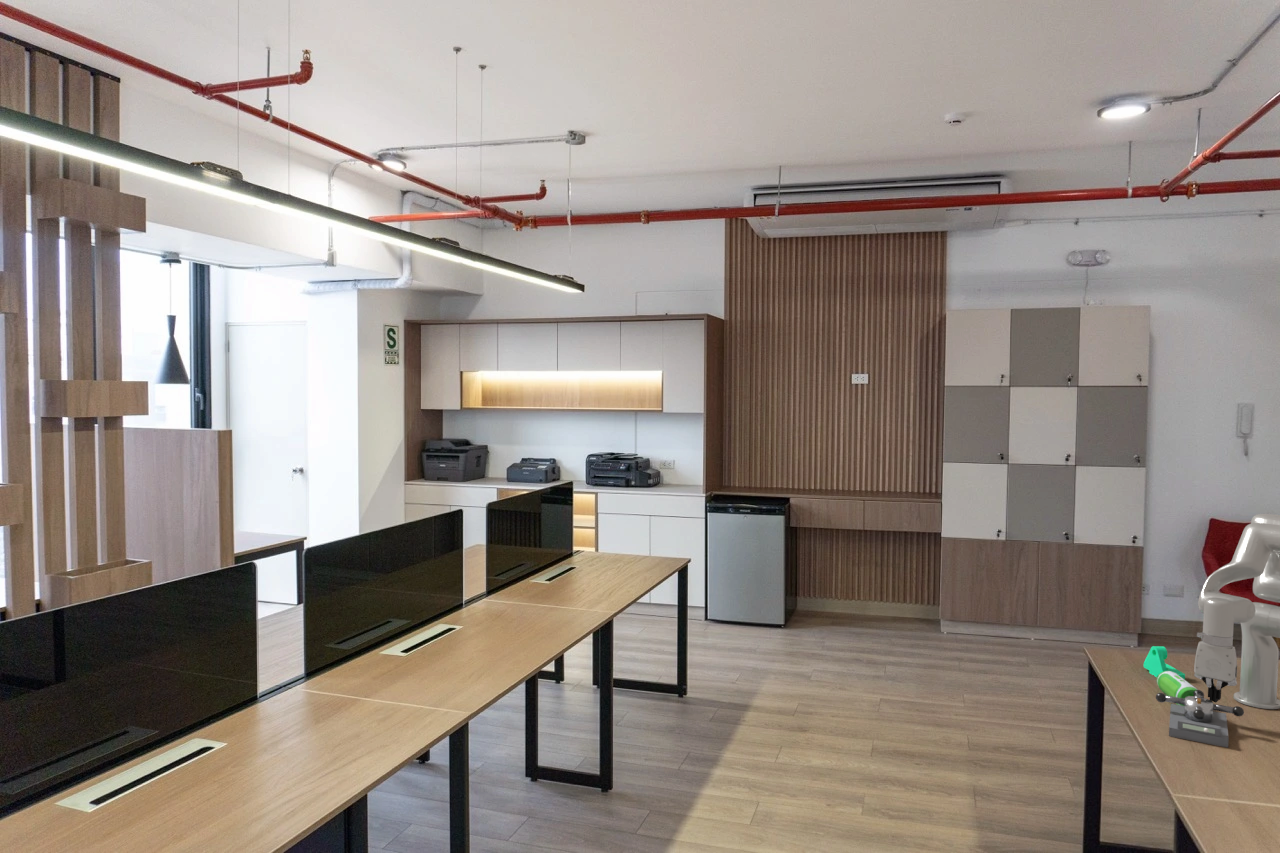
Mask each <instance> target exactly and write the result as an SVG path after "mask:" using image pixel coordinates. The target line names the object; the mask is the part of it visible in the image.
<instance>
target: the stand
mask: <svg viewBox="0 0 1280 853" xmlns="http://www.w3.org/2000/svg"><path fill="white" fill-rule="evenodd" d="M1184 708H1185V706H1182V705H1177V704H1176V703H1170V712H1169V723H1168V725H1169V727H1168V737H1171V738H1177V739H1182V740H1187V741H1193V742H1198V743H1203V744H1208V745H1212V746H1216V747H1222V748H1229V730H1228V721H1227V720H1228V719H1227V713H1226V712H1221V711H1215V710H1213V720H1212V721H1211V722H1200V721H1195V720H1192V719H1189V718H1187V717H1185V716H1184Z"/></svg>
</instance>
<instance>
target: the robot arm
mask: <svg viewBox="0 0 1280 853" xmlns="http://www.w3.org/2000/svg"><path fill="white" fill-rule="evenodd" d="M1241 533H1242V534H1241V536H1240V538H1239V540H1238V544H1237V546H1236V548H1235V551H1234V554H1233V556H1232V559H1231V561H1230V562H1229V563H1226V564H1224V565H1223V566H1221V567H1219V568H1218V569H1217V570H1214V571H1213V572H1212V573H1211V574H1210V575H1209V576H1208V577H1207V578H1206V580H1205V581H1204V583H1203V586H1202V588H1201V590H1200V593H1199V596H1198V597H1199V598H1198V601H1197V605H1198V609H1199V611H1200V612H1201V613H1202V614H1203V617H1202V618H1203V622H1202V631H1201V632H1196V637H1197V638H1200V641H1199V642H1198V644H1197V648H1196V651H1195V652H1196V653H1195V658H1194V665H1193V666H1194V667H1193V668H1194V669H1193V672H1194V674H1193V676H1194V677H1195V678H1197V679H1199V680H1201V681H1202V682H1203V683H1205V685H1206V687H1207V698H1209V700H1211V701H1212V702H1213V703H1214V704H1217V702H1219V701H1220V700H1221V699H1222V689H1223V688H1225V687H1235V686H1237V685H1238V682H1237V677H1238V658H1237V652H1236V647H1235V646H1234V645H1233V642H1234V641H1233V640H1234V626H1235V625H1234V624H1235V623H1240V628H1241V654H1240V656H1241V658H1240V659H1241V661H1240V675H1239V676H1240V678H1239V679H1240V681H1239V691H1237V692H1234V693H1233V699H1234V700H1235V701H1236V702H1239V703H1241V704H1242V705H1245V706H1250V707H1253V708H1257V709H1264V710H1279V709H1280V699H1278V698H1277V696H1278V695H1277V693H1278V678H1279V661H1280V660H1279V658H1280V657H1279V656H1280V651H1279V650H1280V649H1279V647H1278V643H1277V642H1276V641H1275V639H1274V637H1275V638H1277V639H1278V638H1279V639H1280V606H1278V605H1274V604H1269V603H1263V602H1257V601H1254V602H1252V601H1251V600H1250V599H1249V598H1245V597H1243V596H1242V597H1241V596H1237V595H1232V594H1228V593H1222V592H1219V591H1220V589H1222V588H1223V587H1224V586H1226V585H1228V584H1230V583H1234V582H1239V581H1242V580H1243V581H1244V580H1247V579H1253V582H1252V594H1254V596H1255V597H1257V598H1259V599H1260V600H1261V599H1262V600H1265V601H1270V602H1273V603H1280V514H1276V513H1258V514H1255V515H1254V516H1252V518H1251V520H1250V523H1249V524H1247V525H1245V527H1244V528H1243V531H1242V532H1241ZM1214 680H1215V681H1217V682H1216V684H1215V681H1214Z"/></svg>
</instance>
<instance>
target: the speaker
mask: <svg viewBox="0 0 1280 853" xmlns="http://www.w3.org/2000/svg"><path fill="white" fill-rule="evenodd" d="M1156 684H1157V687H1158V688H1159V690H1160V691H1161V693H1163V694H1165V695H1167V696H1172V697H1178V698H1184V699H1185V697H1188V696H1194V695H1193V692H1194V691H1195V690H1199V689H1198V688H1197V687H1196V686H1194V685H1192V684H1191V683H1190V682H1189V681H1187V680H1186V679H1183V678H1182V677H1180V676H1179V675H1178V674H1176V673H1174V672H1171V671H1164V672H1161V673H1160V674H1159V675H1158V677H1156ZM1176 705H1182V704H1176ZM1182 706H1185V705H1182Z"/></svg>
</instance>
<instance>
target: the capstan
mask: <svg viewBox="0 0 1280 853" xmlns="http://www.w3.org/2000/svg"><path fill="white" fill-rule="evenodd" d="M1193 695H1194V696H1188V697H1185V699H1184V698H1178V697H1172V696H1167V695H1166V694H1165V693H1164V692H1157V693H1156V694H1155V699H1156V701H1157V702H1159V703H1165V702H1167V703H1170V704H1176V705H1177V704H1182V705H1185V708H1184V716H1185V717H1187V718H1189V719H1192V720H1195V721H1200V722H1211V721H1212V720H1213V711H1215V712H1220V713H1226V714H1232V715H1234V716H1235V717H1243V715H1245V714H1244V713H1245V711H1244V709H1243V708H1242V707H1241V706H1239V705H1237V706H1229V705H1224V704H1223V705H1221V704H1219V703H1218V704H1217V703H1214V702H1213V701H1211V700H1210V699H1208V698H1206V697H1205V694H1204V691H1203V690H1200V689H1198V690H1195V691H1194V692H1193Z"/></svg>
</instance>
